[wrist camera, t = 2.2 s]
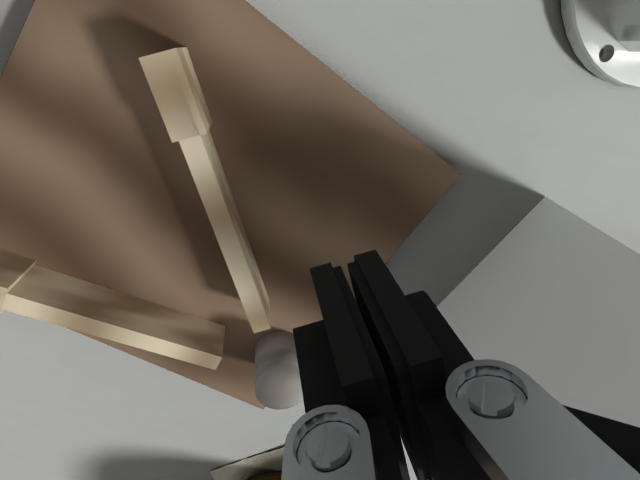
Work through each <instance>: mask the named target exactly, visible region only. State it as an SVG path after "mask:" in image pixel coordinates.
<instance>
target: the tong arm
mask: <svg viewBox="0 0 640 480" xmlns="http://www.w3.org/2000/svg"><path fill="white" fill-rule="evenodd" d="M139 61H140V63H141V66H142V68H143V71H144V73H145V76H146V79H147V81H148V84H149V86H150V89H151V91H152V94H153V96H154V99H155V101H156V104H157V106H158V109H159V111H160V114H161V116H162V119H163V121H164V124H165V126H166V129H167V131H168V134H169V136H170V139H171V141H172V143H173V142H177V141H179V143H180V146H181V148H182V151H183V154H184V156H185V159H186V161H187V164H188V166H189V169H190V171H191V174H192V177H193V179H194V182H195V184H196V187H197V189H198V192H199V195H200V197H201V200H202V202H203V205H204V207H205V210H206V212H207V215H208V218H209V220H210V223H211V225H212V228H213V230H214V233H215V235H216V238H217V241H218V243H219V246H220V248H221V251H222V253H223V256H224V259H225V261H226V264H227V266H228V269H229V271H230V274H231V276H232V279H233V282H234V284H235V287H236V289H237V292H238V294H239V297H240V299H241V302H242V305H243V307H244V310H245V312H246V315H247V317H248V320H249V323H250V325H251V328H252V330H253V333H257V332H261V331H264V330H268V329H271V322H270V304H269V298H268V295H267V292H266V289H265V286H264V283H263V281H262V278H261V275H260V272H259V269H258V266H257V264H256V261H255V258H254V255H253V252H252V250H251V247H250V244H249V241H248V238H247V235H246V233H245V230H244V227H243V224H242V221H241V218H240V216H239V213H238V210H237V207H236V204H235V201H234V199H233V196H232V193H231V190H230V187H229V184H228V182H227V179H226V176H225V173H224V170H223V168H222V165H221V162H220V159H219V156H218V153H217V151H216V148H215V145H214V142H213V139H212V136H211V134H210V131H209V128H210V126H211V124H212V123H213V122H212V119H211V116H210V113H209V110H208V107H207V104H206V102H205V99H204V96H203V93H202V90H201V87H200V84H199V81H198V78H197V76H196V73H195V70H194V67H193V64H192V61H191V58H190V55H189V53H188V50H187V47H182V48H173V49H170V50H166V51H162V52H158V53H155V54H151V55H147V56H143V57H140V58H139Z"/></svg>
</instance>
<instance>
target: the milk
mask: <svg viewBox="0 0 640 480" xmlns="http://www.w3.org/2000/svg"><path fill="white" fill-rule="evenodd" d="M437 308H438V310H439V311H440V313H441V314H442V315H443V317H444V318H445V320H446V321H447V322H448V324H449V325H450V326H451V328H452V329H453V331H454V332H455V333H456V335H457V336H458V338H459V339H460V340H461V342H462V343H463V344H464V346H465V347H466V349H467V350H468V351H469V353H470V354H471V356H472V357H473V358H474V360H483V359H492V360H498V361H504V362H506V363H509V364H511V365H514V366H516V367H518V368H519V369H521V370H522V371H524V372H525V373H527V374H528V375H529V376H530V377H531V378H532V379H533V380H534V381H536V382H537V383H538V384H539V385H540V386H541V387H542V388H543V389H545V390H546V391H547V392H548V393H549V394H550V395H551V396H552V397H554V398H555V399H556V400H557V401H558V402H559V403H560V404H561V405H564V406H568V407H571V408H575V409H578V410H581V411H585V412H588V413H592V414H595V415H599V416H602V417H605V418H609V419H612V420H616V421H619V422H622V423H626V424H629V425H633V426H636V427H639V428H640V255H639V254H638V253H636V252H635V251H633V250H631V249H630V248H628V247H626V246H625V245H623V244H622V243H620V242H618V241H617V240H615V239H613V238H612V237H610V236H609V235H607V234H605V233H604V232H602V231H601V230H599V229H597V228H596V227H594V226H592V225H591V224H589V223H588V222H586V221H584V220H583V219H581V218H579V217H578V216H576V215H575V214H573V213H571V212H570V211H568V210H566V209H565V208H563V207H562V206H560V205H558V204H557V203H555V202H553V201H552V200H550V199H549V198H547V197H544V198H543V199H542V200H541V201H540V202H539V203H538V204H537V205H536V206H535V207H534V208H533V209H532V210H531V211H530V212H529V213H528V214H527V215H526V216H525V217H524V218H523V219H522V220H521V222H520V223H519V224H518V225H517V226H516V227H515V228H514V229H513V230H512V231H511V232H510V233H509V234H508V235H507V236H506V237H505V238H504V239H503V240H502V241H501V242H500V243H499V244H498V245H497V246H496V247H495V248H494V249H493V250H492V251H491V252H490V253H489V254H488V255H487V256H486V257H485V258H484V259H483V260H482V261H481V262H480V263H479V264H478V265H477V266H476V267H475V268H474V269H473V270H472V271H471V272H470V273H469V274H468V275H467V276H466V277H465V278H464V279H463V280H462V282H461V283H460V284H459V285H458V286H457V287H456V288H455V289H454V290H453V291H452V292H451V293H450V294H449V295H448V296H447V297H446V298H445V299H444V300H443V301H442V302H441V303H440V304H439V305H438V306H437Z"/></svg>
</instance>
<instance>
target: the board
mask: <svg viewBox="0 0 640 480" xmlns="http://www.w3.org/2000/svg"><path fill="white" fill-rule="evenodd" d="M182 47H187V50H188V53H189V55H190V58H191V61H192V64H193V67H194V70H195V73H196V76H197V78H198V81H199V84H200V87H201V90H202V93H203V96H204V99H205V102H206V104H207V107H208V110H209V113H210V116H211V119H212V122H213V123H212V124H211V126H210V128H209V131H210V134H211V136H212V139H213V142H214V145H215V148H216V151H217V153H218V156H219V159H220V162H221V165H222V168H223V170H224V173H225V176H226V179H227V182H228V184H229V187H230V190H231V193H232V196H233V199H234V201H235V204H236V207H237V210H238V213H239V216H240V218H241V221H242V224H243V227H244V230H245V233H246V235H247V238H248V241H249V244H250V247H251V250H252V252H253V255H254V258H255V261H256V264H257V266H258V269H259V272H260V275H261V278H262V281H263V283H264V286H265V289H266V292H267V295H268V298H269V304H270V322H271V329H268V330H264V331H261V332H257V333H253V330H252V328H251V325H250V323H249V320H248V317H247V315H246V312H245V310H244V307H243V305H242V302H241V299H240V297H239V294H238V292H237V289H236V287H235V284H234V282H233V279H232V276H231V274H230V271H229V269H228V266H227V264H226V261H225V259H224V256H223V253H222V251H221V248H220V246H219V243H218V241H217V238H216V235H215V233H214V230H213V228H212V225H211V223H210V220H209V218H208V215H207V212H206V210H205V207H204V205H203V202H202V200H201V197H200V195H199V192H198V189H197V187H196V184H195V182H194V179H193V177H192V174H191V171H190V169H189V166H188V164H187V161H186V159H185V156H184V154H183V151H182V148H181V146H180V143H179V141H177V142H173V143H172V141H171V139H170V136H169V134H168V131H167V129H166V126H165V124H164V121H163V119H162V116H161V114H160V111H159V109H158V106H157V104H156V101H155V99H154V96H153V94H152V91H151V89H150V86H149V84H148V81H147V79H146V76H145V73H144V71H143V68H142V66H141V63H140V61H139V58H140V57H143V56H147V55H151V54H155V53H158V52H162V51H166V50H170V49H173V48H182ZM459 175H460V173H459V172H458V171H456V170H455V169H454V168H453V167H451V166H450V165H449V164H448V163H446V162H445V161H444V160H443V159H442V158H440V157H439V156H438V155H437V154H435V153H434V152H433V151H432V150H430V149H429V148H428V147H427V146H425V145H424V144H423V143H422V142H420V141H419V140H418V139H417V138H415V137H414V136H413V135H412V134H410V133H409V132H408V131H407V130H405V129H404V128H403V127H402V126H400V125H399V124H398V123H397V122H396V121H394V120H393V119H392V118H391V117H389V116H388V115H387V114H386V113H384V112H383V111H382V110H381V109H379V108H378V107H377V106H376V105H374V104H373V103H372V102H371V101H369V100H368V99H367V98H366V97H364V96H363V95H362V94H361V93H359V92H358V91H357V90H356V89H354V88H353V87H352V86H351V85H350V84H348V83H347V82H346V81H345V80H343V79H342V78H341V77H340V76H338V75H337V74H336V73H335V72H333V71H332V70H331V69H330V68H328V67H327V66H326V65H325V64H323V63H322V62H321V61H320V60H318V59H317V58H316V57H315V56H313V55H312V54H311V53H310V52H308V51H307V50H306V49H305V48H303V47H302V46H301V45H300V44H299V43H297V42H296V41H295V40H294V39H292V38H291V37H290V36H289V35H287V34H286V33H285V32H284V31H282V30H281V29H280V28H279V27H277V26H276V25H275V24H274V23H272V22H271V21H270V20H269V19H267V18H266V17H265V16H264V15H262V14H261V13H260V12H259V11H257V10H256V9H255V8H254V7H253V6H251V5H250V4H249V3H248V2H246V1H245V0H35V2H34V4H33V6H32V8H31V10H30V13H29V15H28V17H27V19H26V22H25V24H24V26H23V28H22V31H21V33H20V35H19V37H18V39H17V42H16V44H15V46H14V48H13V51H12V53H11V55H10V57H9V60H8V62H7V64H6V66H5V68H4V71H3V73H2V75H1V77H0V249H2V250H6V251H9V252H12V253H15V254H18V255H21V256H24V257H27V258H30V259H33V260H36V263H35V265H37V266H40V267H43V268H46V269H49V270H53V271H56V272H59V273H62V274H65V275H68V276H71V277H74V278H78V279H81V280H84V281H87V282H90V283H93V284H96V285H99V286H102V287H106V288H109V289H112V290H115V291H118V292H121V293H124V294H127V295H130V296H134V297H137V298H140V299H143V300H146V301H149V302H152V303H155V304H159V305H162V306H165V307H168V308H171V309H174V310H177V311H180V312H183V313H187V314H190V315H193V316H196V317H199V318H202V319H205V320H208V321H212V322H215V323H218V324H221V325H224V326H225V335H224V344H223V354H222V359H221V361H220V362H219V364H218V366H217V368H216V370H213V369H210V368H206V367H203V366H199V365H196V364H192V363H189V362H185V361H182V360H178V359H175V358H171V357H168V356H164V355H161V354H157V353H154V352H150V351H147V350H143V349H140V348H136V347H133V346H129V345H126V344H122V343H119V342H115V341H112V340H108V339H105V338H101V337H98V336H94V335H91V334H87V333H84V332H80V331H77V330H73V329H71V330H73V331H76V332H78V333H81V334H83V335H85V336H88V337H90V338H93V339H95V340H97V341H100V342H102V343H105V344H107V345H109V346H112V347H114V348H117V349H119V350H121V351H124V352H126V353H129V354H131V355H134V356H136V357H138V358H141V359H143V360H146V361H148V362H150V363H153V364H155V365H158V366H160V367H162V368H165V369H167V370H170V371H172V372H174V373H177V374H179V375H182V376H184V377H186V378H189V379H191V380H194V381H196V382H198V383H201V384H203V385H206V386H208V387H210V388H213V389H215V390H218V391H220V392H223V393H225V394H227V395H230V396H232V397H235V398H237V399H239V400H242V401H244V402H247V403H249V404H251V405H254V406H256V407H259V408H261V409H264V408H265V406H264V405H263V404H261V403H260V402H259V401H258V399H257V397H256V395H255V347H256V344H257V342H258V341H259V339H260V338H261V337H262V336H264V335H265V334H267V333H269V332H272V331H277V330H284V331H289V332H292V333H293V328H297V327H300V326H303V325H307V324H310V323H314V322H317V321H320V320H323V316H322V313H321V309H320V305H319V302H318V298H317V294H316V291H315V287H314V284H313V280H312V276H311V273H310V269H309V268H313V267H316V266H320V265H323V264H326V263H330V262H331V265H332V267H333V268H334V267H337V266H341V267H342V270H343V272H344V275H345V277H346V279H347V282H348V284H349V286H350V289H351V291H352V294H353V296H354V292H353V288H352V283H351V279H350V275H349V271H348V267H347V263H351V262H354V255H358V254H361V253H365V252H368V251H371V250H376V251H377V252H378V254H379V256H380V257H381V259H382V260H383V262H384V264H386V262H387V261H388V260H389V259H390V258H391V256H392V255H393V254H394V253H395V252H396V250H397V249H398V248H399V247H400V246H401V244H402V243H403V242H404V241H405V240H406V238H407V237H408V236H409V235H410V234H411V233H412V231H413V230H414V229H415V228H416V227H417V225H418V224H419V223H420V222H421V221H422V219H423V218H424V217H425V216H426V215H427V213H428V212H429V211H430V210H431V209H432V208H433V206H434V205H435V204H436V203H437V202H438V200H439V199H440V198H441V197H442V196H443V194H444V193H445V192H446V191H447V190H448V188H449V187H450V186H451V185H452V184H453V183H454V181H455V180H456V179H457V178H458V177H459ZM354 298H355V296H354ZM69 329H70V328H69Z"/></svg>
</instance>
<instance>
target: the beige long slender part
mask: <svg viewBox="0 0 640 480" xmlns="http://www.w3.org/2000/svg"><path fill="white" fill-rule="evenodd" d="M35 263H36V260H33V259H30V258H27V257H24V256H21V255H18V254H15V253H12V252H9V251H6V250H2V249H0V314H1V313H2V312H3V311H4V310H6V311H10V312H13V313H17V314H20V315H24V316H27V317H31V318H34V319H38V320H42V321H45V322H49V323H52V324H56V325H59V326H63V327H66V328H70V329H73V330H77V331H80V332H84V333H87V334H91V335H94V336H98V337H101V338H105V339H108V340H112V341H115V342H119V343H122V344H126V345H129V346H133V347H136V348H140V349H143V350H147V351H150V352H154V353H157V354H161V355H164V356H168V357H171V358H175V359H178V360H182V361H185V362H189V363H192V364H196V365H199V366H203V367H206V368H210V369H213V370H216V368H217V366H218V364H219V362H220V361H221V359H222V354H223V344H224V335H225V326H224V325H221V324H218V323H215V322H212V321H208V320H205V319H202V318H199V317H196V316H193V315H190V314H187V313H183V312H180V311H177V310H174V309H171V308H168V307H165V306H162V305H159V304H155V303H152V302H149V301H146V300H143V299H140V298H137V297H134V296H130V295H127V294H124V293H121V292H118V291H115V290H112V289H109V288H106V287H102V286H99V285H96V284H93V283H90V282H87V281H84V280H81V279H78V278H74V277H71V276H68V275H65V274H62V273H59V272H56V271H53V270H49V269H46V268H43V267H40V266H37V265H35ZM255 395H256V397H257V399H258V401H259V402H260V403H261V404H263V405H264V406H266V407H268V408H272V409H287V408H291V407H293V406H295V405H297V404H299V403H300V402H301V401H302V400H303V393H302V387H301V380H300V374H299V368H298V361H297V355H296V348H295V342H294V335H293V333H292V332H289V331H284V330H277V331H272V332H269V333H267V334H265V335H264V336H262V337H261V338H260V339H259V341H258V342H257V344H256V347H255Z"/></svg>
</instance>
